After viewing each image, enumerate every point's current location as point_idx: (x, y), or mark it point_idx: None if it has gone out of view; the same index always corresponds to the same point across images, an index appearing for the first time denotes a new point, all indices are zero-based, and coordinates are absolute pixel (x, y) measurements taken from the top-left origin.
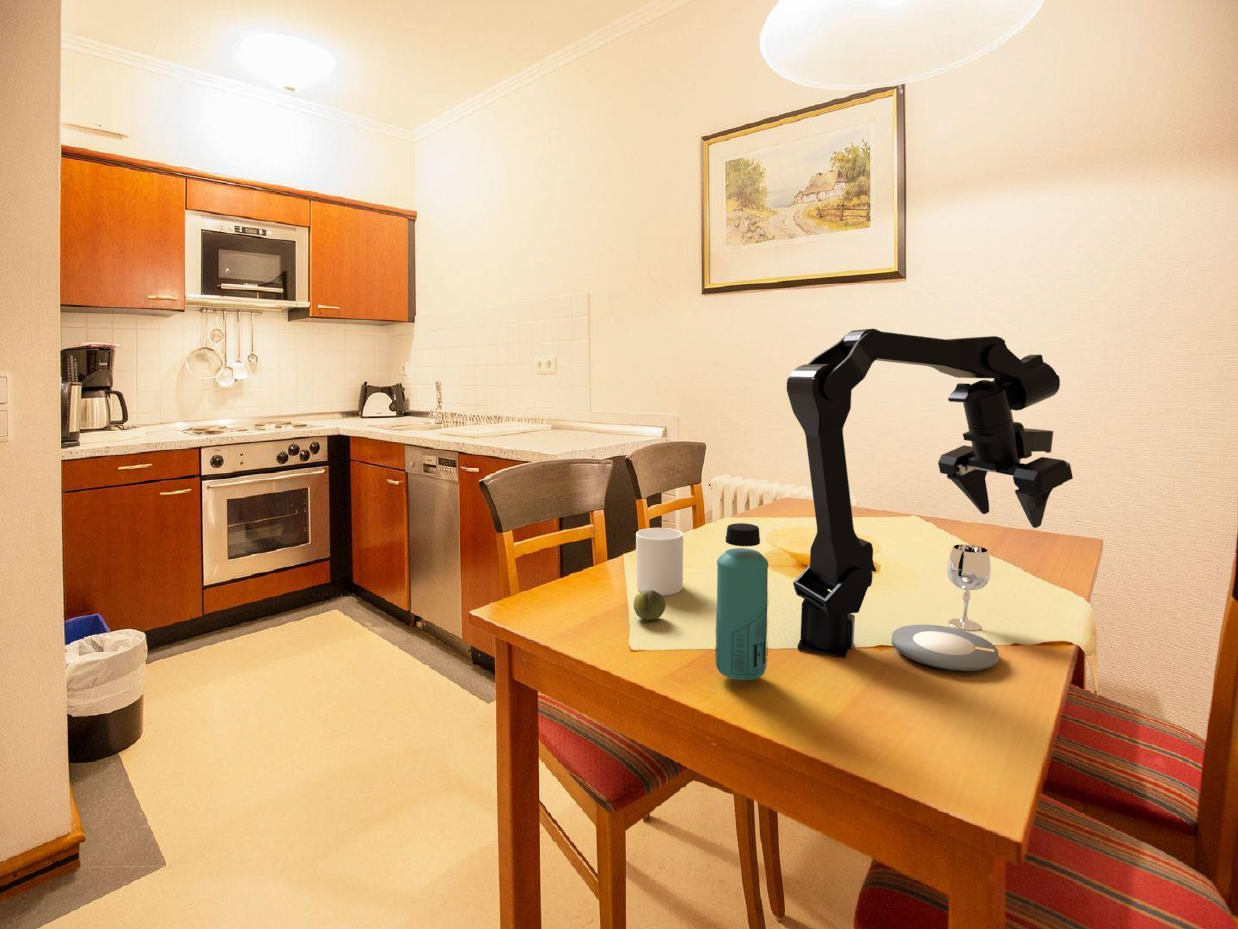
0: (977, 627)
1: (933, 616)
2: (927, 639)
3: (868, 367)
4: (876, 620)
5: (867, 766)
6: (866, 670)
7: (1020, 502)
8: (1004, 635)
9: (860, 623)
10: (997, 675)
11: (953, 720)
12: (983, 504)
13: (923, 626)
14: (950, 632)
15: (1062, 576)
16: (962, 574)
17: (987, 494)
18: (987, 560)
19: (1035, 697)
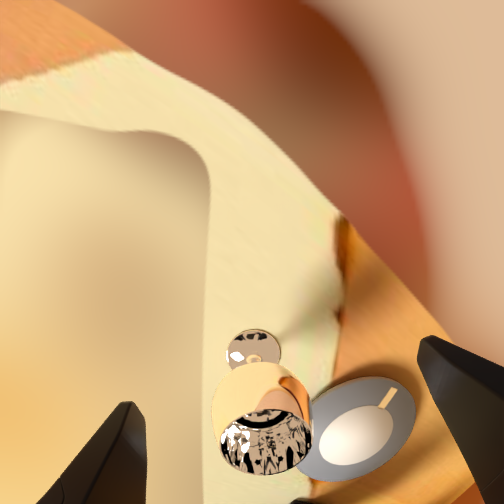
0: (273, 343)
1: (210, 383)
2: (344, 451)
3: None
4: (225, 462)
5: (460, 491)
6: (363, 494)
7: (481, 486)
8: (304, 312)
9: (236, 480)
10: (411, 388)
11: (452, 447)
12: (134, 454)
13: None
14: (327, 418)
15: (55, 34)
16: (291, 435)
17: (102, 469)
18: (309, 409)
19: None
